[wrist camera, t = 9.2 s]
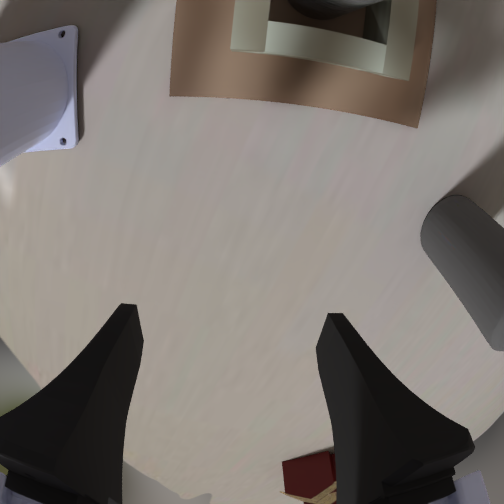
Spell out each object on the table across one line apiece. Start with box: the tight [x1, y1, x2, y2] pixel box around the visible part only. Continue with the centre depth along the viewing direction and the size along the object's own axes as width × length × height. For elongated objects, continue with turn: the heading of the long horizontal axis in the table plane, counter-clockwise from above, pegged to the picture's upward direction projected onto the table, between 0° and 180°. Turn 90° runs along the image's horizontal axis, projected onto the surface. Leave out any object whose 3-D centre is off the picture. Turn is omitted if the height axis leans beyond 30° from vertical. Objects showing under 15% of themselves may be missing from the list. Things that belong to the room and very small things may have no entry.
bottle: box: [421, 195, 504, 351], centre depth 16 cm, size 6×6×15 cm
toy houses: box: [280, 451, 337, 504], centre depth 53 cm, size 45×20×10 cm, turn 24°
